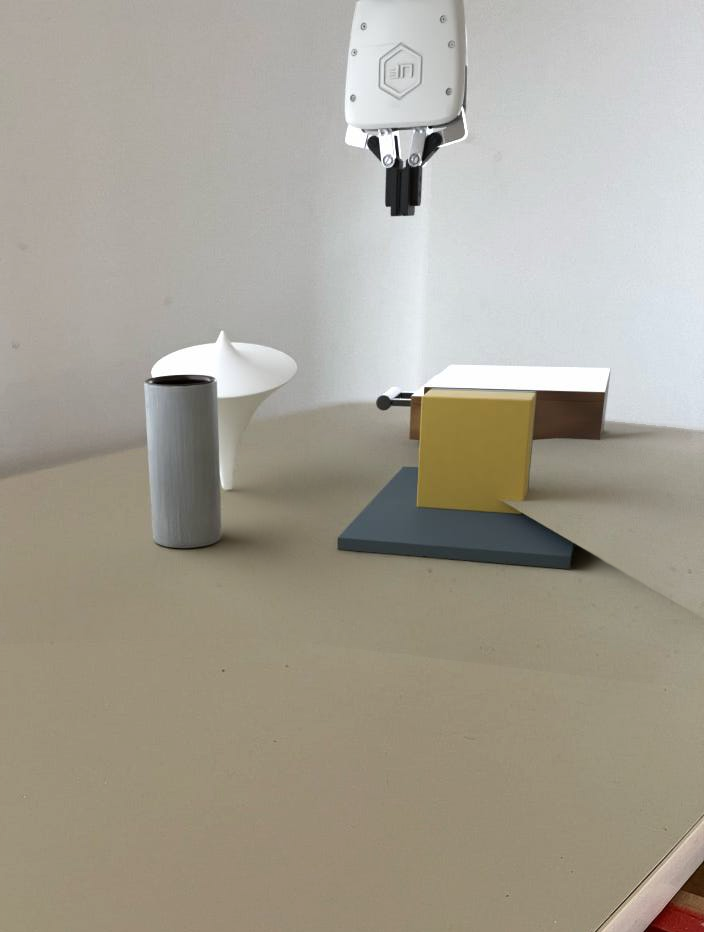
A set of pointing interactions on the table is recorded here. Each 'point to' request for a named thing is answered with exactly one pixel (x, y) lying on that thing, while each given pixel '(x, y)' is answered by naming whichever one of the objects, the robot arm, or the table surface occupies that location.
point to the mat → (451, 531)
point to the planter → (183, 459)
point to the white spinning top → (232, 386)
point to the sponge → (475, 449)
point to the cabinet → (543, 394)
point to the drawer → (407, 400)
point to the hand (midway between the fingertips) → (402, 215)
